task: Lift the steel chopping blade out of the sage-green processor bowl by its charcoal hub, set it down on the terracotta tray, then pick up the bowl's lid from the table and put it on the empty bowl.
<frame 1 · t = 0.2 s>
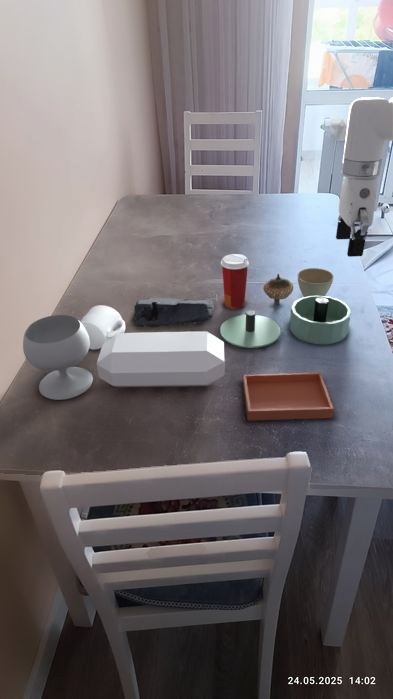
hand: (348, 247, 107), 25 cm above the table, tool pointing down, fingers open, 9 cm apart
crystal: (163, 376, 112), on the table
tray: (285, 399, 103), on the table
dark slate chunk: (175, 315, 135), on the table
chalice: (66, 384, 111), on the table
mug: (104, 340, 126), on the table
blade: (320, 314, 124), in the bowl
acorn: (277, 306, 137), on the table
paper cup: (234, 304, 139), on the table
bowl: (318, 329, 126), on the table
flower pot: (312, 298, 140), on the table
lid: (250, 331, 125), point 1 cm above the table
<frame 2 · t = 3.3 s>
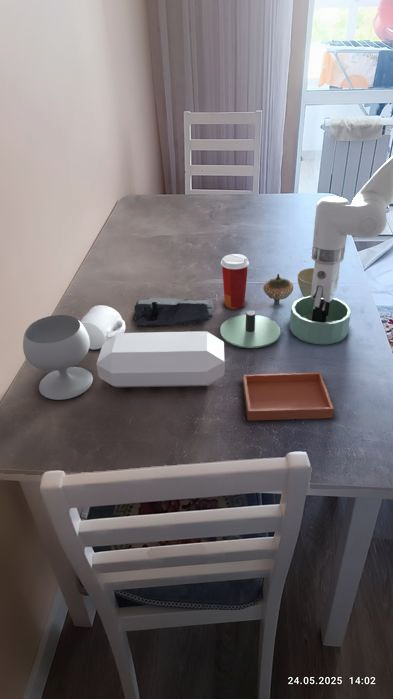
hand: (319, 318, 124), 3 cm above the table, tool pointing down, fingers closed on blade, 3 cm apart
blade: (320, 314, 124), in the bowl, touching gripper
everything else where it was.
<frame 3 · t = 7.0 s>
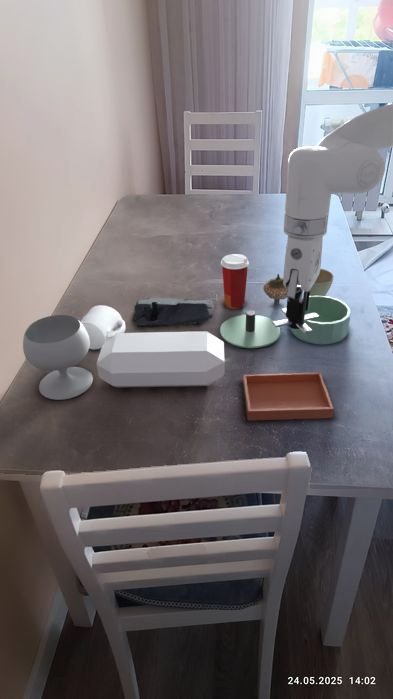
hand: (297, 312, 95), 19 cm above the table, tool pointing down, fingers closed on blade, 3 cm apart
blade: (297, 307, 95), point 21 cm above the table, touching gripper
everything else where it was.
when the fingers open (3 cm above the table, at t = 10.6 s): blade stays where it is, resting on tray.
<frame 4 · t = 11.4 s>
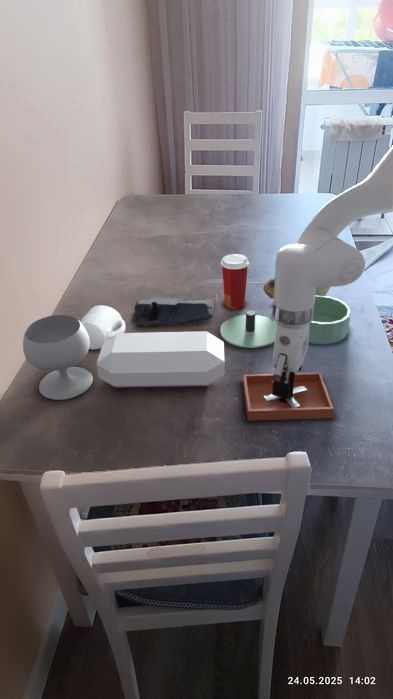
hand: (287, 382, 101), 5 cm above the table, tool pointing down, fingers open, 9 cm apart
blade: (286, 383, 101), in the tray
everything else where it was.
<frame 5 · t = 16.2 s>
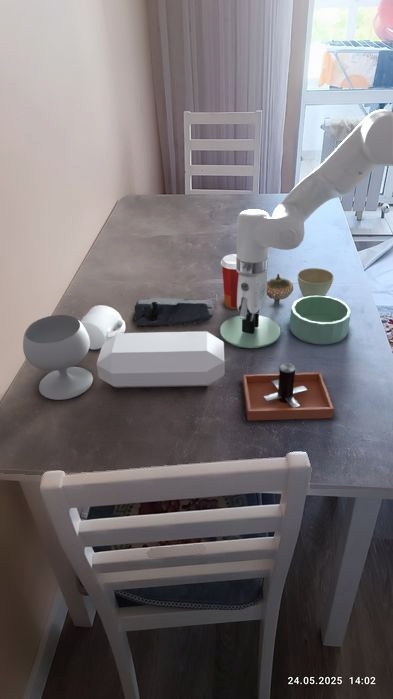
hand: (250, 328, 125), 1 cm above the table, tool pointing down, fingers closed on lid, 2 cm apart
lid: (250, 331, 125), point 1 cm above the table, touching gripper
everything else where it was.
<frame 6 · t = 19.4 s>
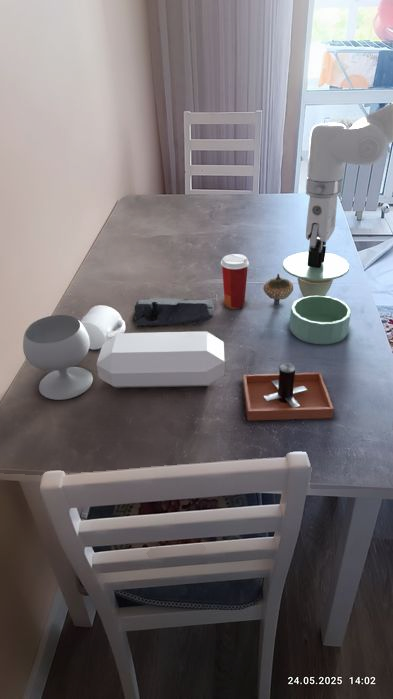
hand: (315, 263, 116), 19 cm above the table, tool pointing down, fingers closed on lid, 2 cm apart
lid: (315, 266, 116), point 18 cm above the table, touching gripper
everything else where it was.
when the fingers open (7 cm above the table, at t = 22.6 s): lid stays where it is, resting on bowl.
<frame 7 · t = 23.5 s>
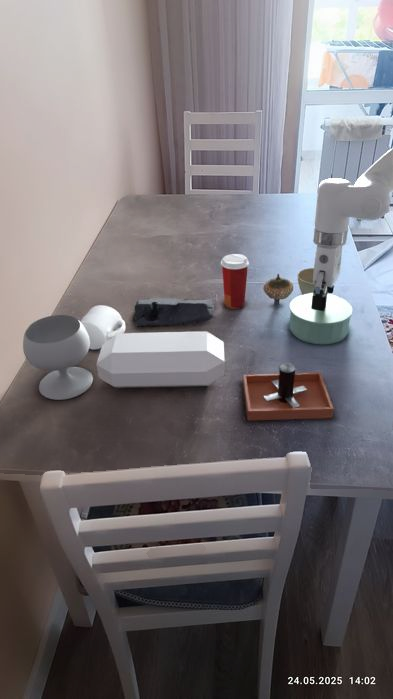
hand: (322, 300, 121), 8 cm above the table, tool pointing down, fingers open, 9 cm apart
lid: (320, 308, 123), point 6 cm above the table, touching bowl
everything else where it was.
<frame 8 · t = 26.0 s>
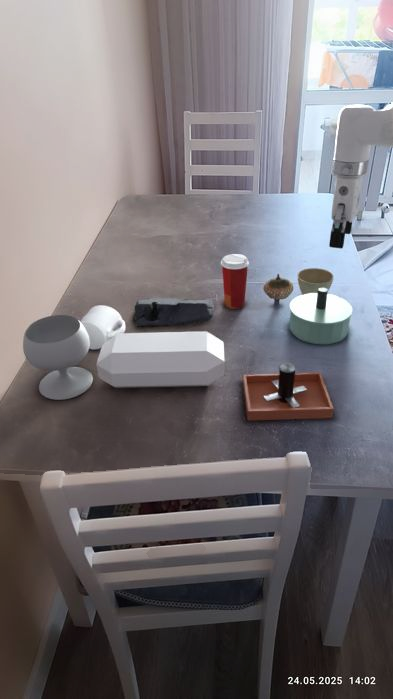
hand: (340, 240, 118), 22 cm above the table, tool pointing down, fingers open, 9 cm apart
nothing on the table moved.
at the end: blade inside the target area in the tray (0.1 cm from its centre), point 4.5 cm above the tray's base; lid 0.1 cm off-centre on the bowl, point 6.0 cm above the bowl's base; lid tilted 0° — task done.
